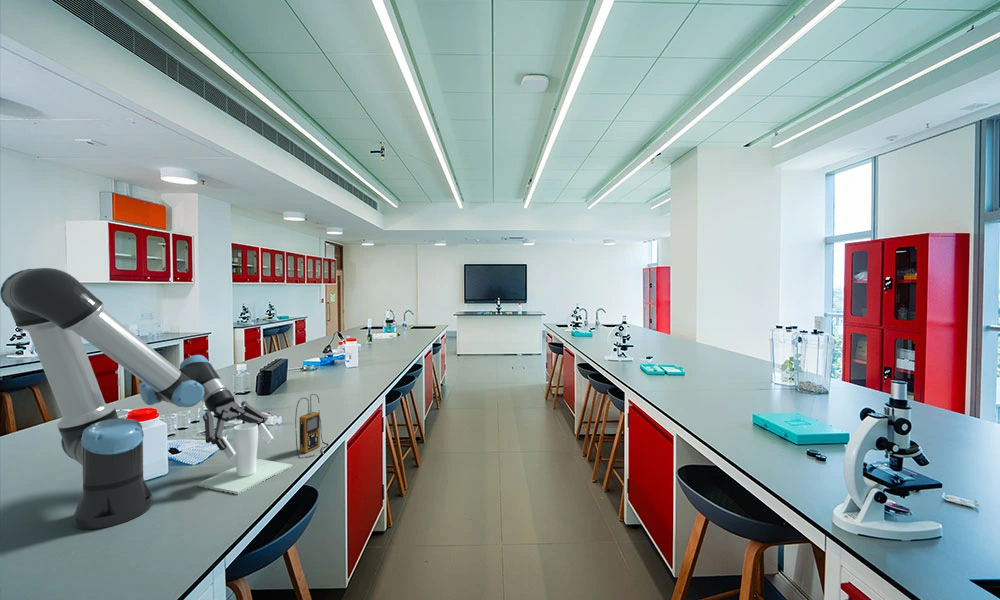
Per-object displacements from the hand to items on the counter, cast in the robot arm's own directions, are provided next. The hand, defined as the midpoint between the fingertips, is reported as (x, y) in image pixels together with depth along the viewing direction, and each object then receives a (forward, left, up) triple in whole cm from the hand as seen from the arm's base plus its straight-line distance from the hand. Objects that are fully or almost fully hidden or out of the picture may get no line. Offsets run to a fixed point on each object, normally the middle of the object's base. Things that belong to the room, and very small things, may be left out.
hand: (252, 448), depth 132 cm
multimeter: (+24, -4, -9) cm, 26 cm away
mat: (0, +2, -9) cm, 9 cm away
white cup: (0, +2, -8) cm, 9 cm away
